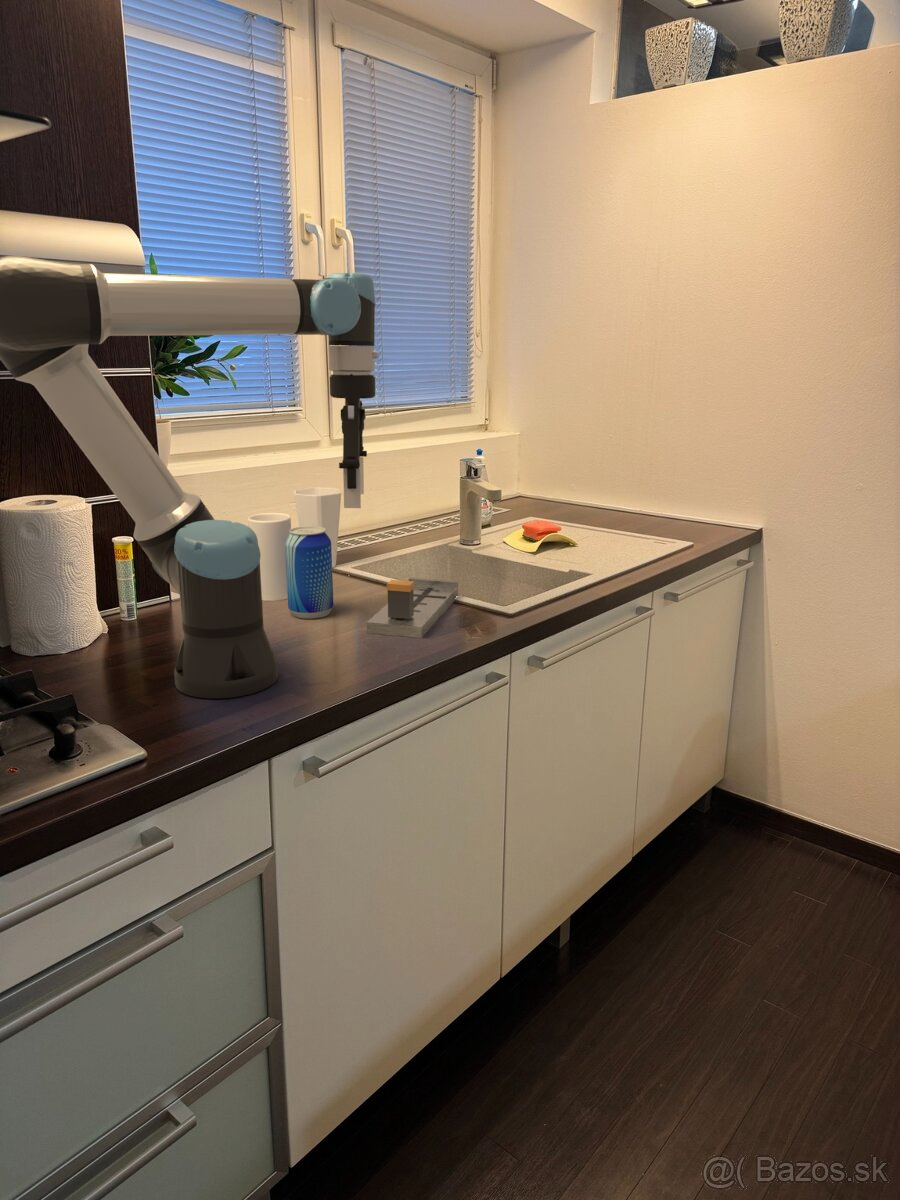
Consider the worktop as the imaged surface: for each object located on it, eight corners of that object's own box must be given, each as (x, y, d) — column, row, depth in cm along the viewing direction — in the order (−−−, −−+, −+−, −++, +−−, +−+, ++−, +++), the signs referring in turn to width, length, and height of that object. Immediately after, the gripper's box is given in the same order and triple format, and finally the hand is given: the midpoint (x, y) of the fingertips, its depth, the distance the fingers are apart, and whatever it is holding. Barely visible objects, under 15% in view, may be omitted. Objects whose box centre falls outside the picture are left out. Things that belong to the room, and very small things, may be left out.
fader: (410, 619, 152) (409, 585, 150) (387, 617, 153) (386, 583, 151) (414, 614, 154) (414, 581, 153) (391, 613, 155) (391, 579, 154)
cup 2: (311, 574, 189) (308, 497, 184) (287, 565, 196) (283, 490, 191) (353, 566, 196) (351, 491, 191) (328, 557, 203) (325, 485, 198)
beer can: (316, 603, 168) (312, 523, 164) (342, 613, 162) (340, 530, 158) (279, 612, 163) (275, 529, 158) (305, 623, 157) (301, 537, 152)
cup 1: (285, 602, 169) (280, 522, 164) (246, 599, 171) (240, 520, 166) (300, 590, 177) (296, 513, 172) (262, 588, 178) (258, 511, 174)
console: (421, 638, 149) (421, 620, 148) (367, 632, 152) (366, 615, 151) (458, 596, 173) (458, 581, 173) (410, 592, 176) (410, 577, 175)
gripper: (373, 376, 131) (374, 514, 137) (376, 371, 155) (377, 488, 161) (323, 375, 131) (326, 514, 137) (334, 370, 154) (337, 488, 161)
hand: (354, 500), depth 149 cm, fingers open, 13 cm apart
